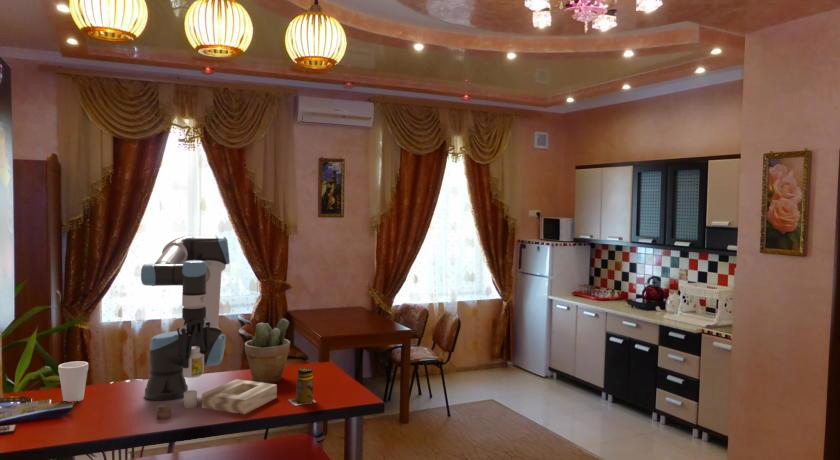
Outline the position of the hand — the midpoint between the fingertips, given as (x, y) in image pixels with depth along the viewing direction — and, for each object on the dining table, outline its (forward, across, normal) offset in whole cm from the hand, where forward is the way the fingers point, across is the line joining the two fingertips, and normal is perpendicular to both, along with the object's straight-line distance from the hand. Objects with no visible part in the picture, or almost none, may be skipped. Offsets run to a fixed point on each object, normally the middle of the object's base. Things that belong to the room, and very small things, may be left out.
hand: (193, 374), depth 205 cm
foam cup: (+15, -2, +52) cm, 54 cm away
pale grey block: (+15, +9, +9) cm, 20 cm away
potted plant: (+15, +48, +4) cm, 50 cm away
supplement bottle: (+1, 0, 0) cm, 1 cm away
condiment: (+15, +29, -25) cm, 41 cm away
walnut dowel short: (+15, -4, +9) cm, 18 cm away
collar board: (+15, +19, -5) cm, 25 cm away
